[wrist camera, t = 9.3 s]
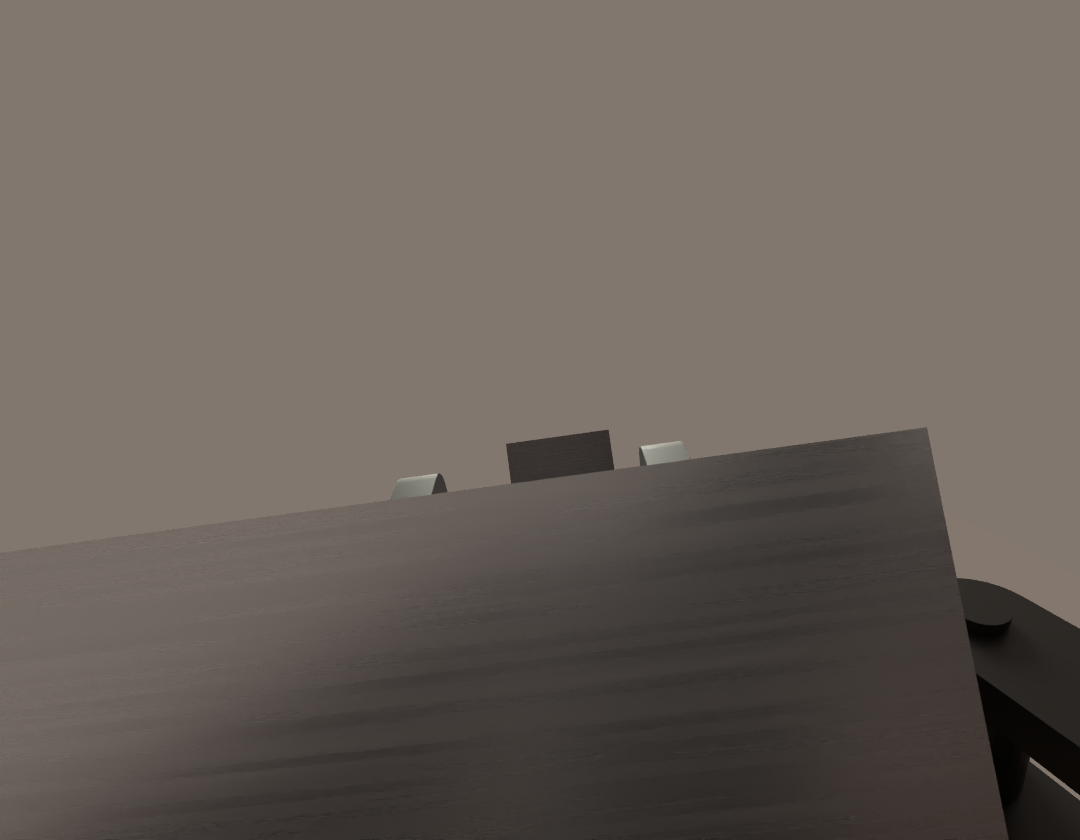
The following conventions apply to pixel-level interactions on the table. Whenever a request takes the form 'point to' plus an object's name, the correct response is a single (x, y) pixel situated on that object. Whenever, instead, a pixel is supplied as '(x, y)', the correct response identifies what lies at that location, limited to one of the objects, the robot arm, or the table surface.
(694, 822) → the grey metal bar
